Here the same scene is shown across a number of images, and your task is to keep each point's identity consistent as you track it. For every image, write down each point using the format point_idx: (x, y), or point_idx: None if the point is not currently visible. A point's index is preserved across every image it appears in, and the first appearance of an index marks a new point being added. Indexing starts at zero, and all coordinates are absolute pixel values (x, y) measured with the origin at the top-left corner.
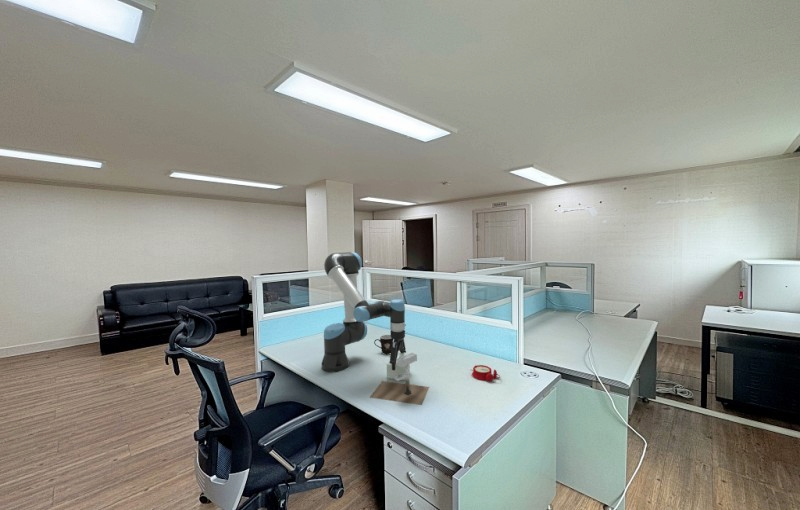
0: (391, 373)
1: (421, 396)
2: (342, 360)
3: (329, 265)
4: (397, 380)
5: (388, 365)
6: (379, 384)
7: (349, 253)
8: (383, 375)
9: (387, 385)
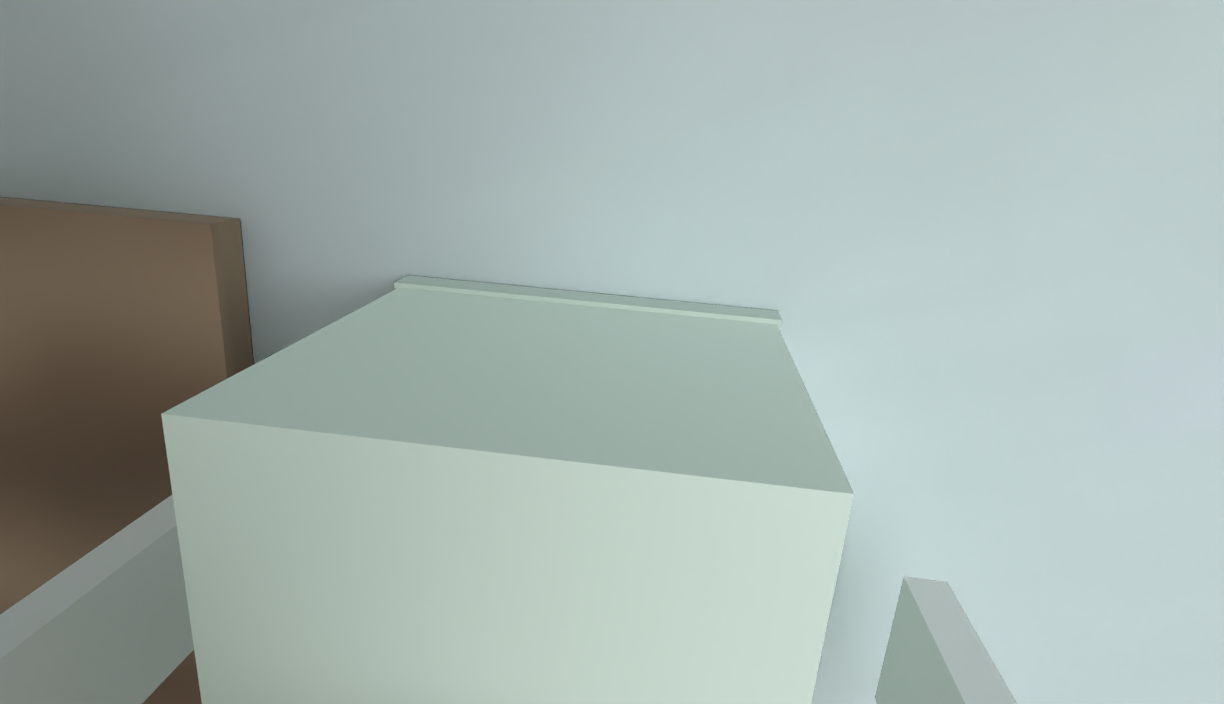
0: (134, 521)
1: None
2: None
3: None
4: None
5: (190, 474)
6: (38, 208)
7: None
8: (600, 139)
9: (70, 387)
